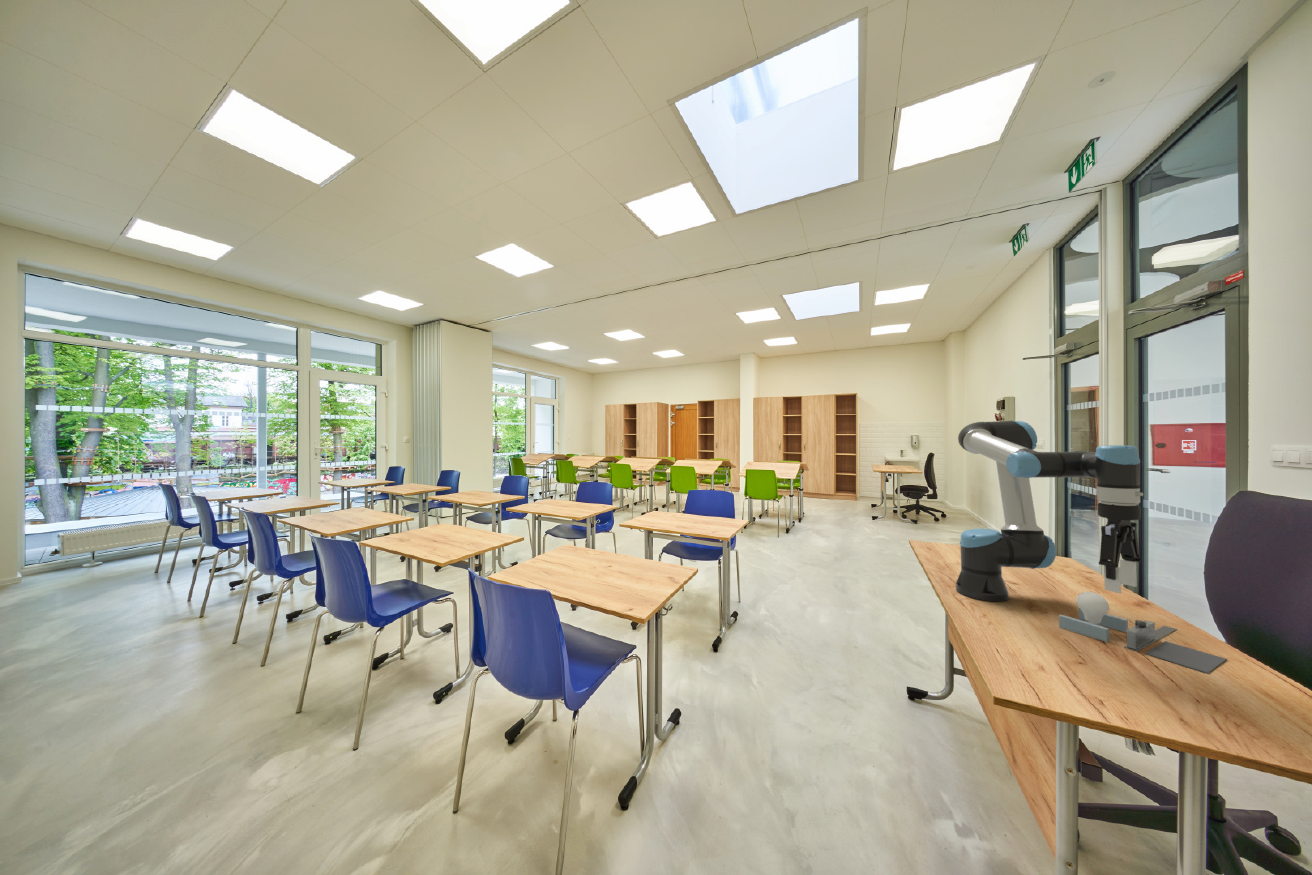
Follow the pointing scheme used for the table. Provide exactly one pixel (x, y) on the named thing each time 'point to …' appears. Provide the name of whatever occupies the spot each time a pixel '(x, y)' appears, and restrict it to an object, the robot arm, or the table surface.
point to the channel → (1093, 625)
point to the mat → (1186, 657)
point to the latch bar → (1140, 634)
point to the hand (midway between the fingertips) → (1120, 588)
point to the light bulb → (1092, 606)
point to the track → (1156, 636)
